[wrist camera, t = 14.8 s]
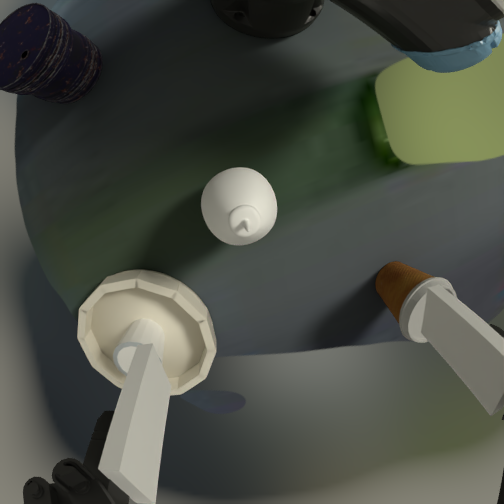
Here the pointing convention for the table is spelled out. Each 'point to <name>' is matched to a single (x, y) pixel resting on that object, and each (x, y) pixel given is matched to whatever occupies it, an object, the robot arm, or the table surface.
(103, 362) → the cream bowl
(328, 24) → the table surface
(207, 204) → the sauce bottle
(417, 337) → the disposable coffee cup
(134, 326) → the shot glass
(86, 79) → the storage jar
